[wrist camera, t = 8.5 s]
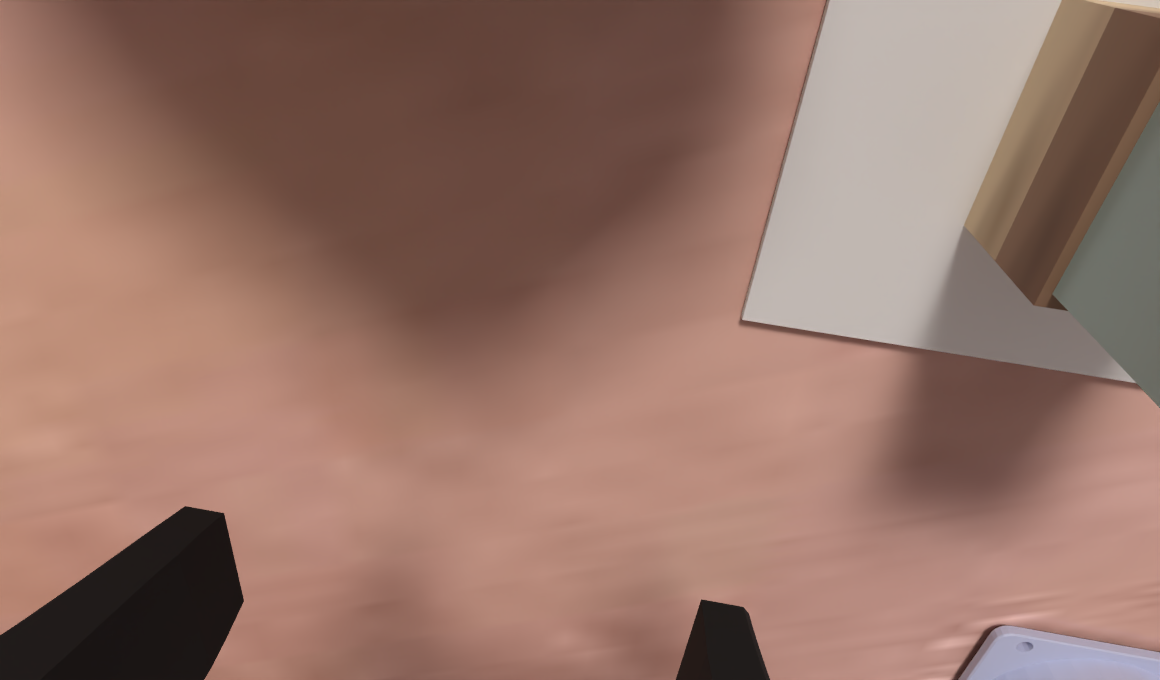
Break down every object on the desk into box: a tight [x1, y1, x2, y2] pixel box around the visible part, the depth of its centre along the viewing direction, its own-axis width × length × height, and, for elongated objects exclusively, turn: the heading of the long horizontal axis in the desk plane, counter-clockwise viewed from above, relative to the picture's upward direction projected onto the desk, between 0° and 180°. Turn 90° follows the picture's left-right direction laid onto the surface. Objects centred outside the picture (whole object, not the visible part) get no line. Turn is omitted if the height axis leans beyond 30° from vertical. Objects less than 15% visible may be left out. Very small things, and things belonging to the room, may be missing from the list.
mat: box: [741, 0, 1160, 383], centre depth 15 cm, size 14×12×1 cm
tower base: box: [964, 0, 1160, 261], centre depth 14 cm, size 5×5×2 cm
